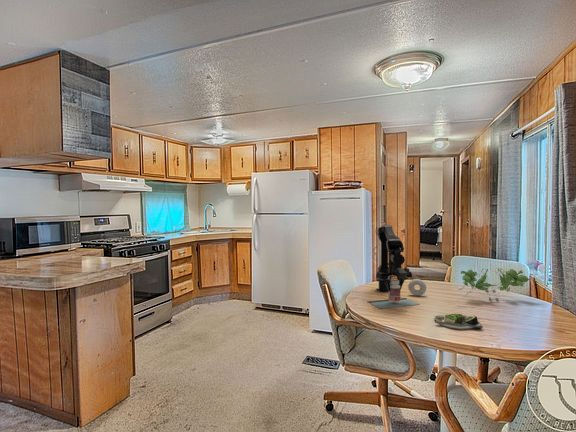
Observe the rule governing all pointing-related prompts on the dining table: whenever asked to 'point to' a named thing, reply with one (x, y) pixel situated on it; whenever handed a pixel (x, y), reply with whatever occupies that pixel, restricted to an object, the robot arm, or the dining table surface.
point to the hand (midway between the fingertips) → (394, 290)
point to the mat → (394, 304)
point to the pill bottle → (394, 291)
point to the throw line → (383, 300)
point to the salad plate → (458, 321)
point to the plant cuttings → (505, 283)
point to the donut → (412, 289)
